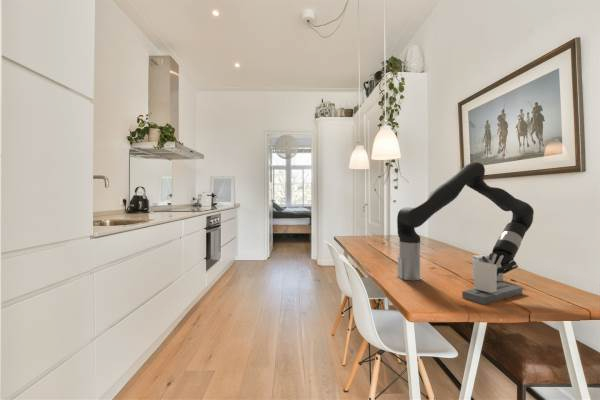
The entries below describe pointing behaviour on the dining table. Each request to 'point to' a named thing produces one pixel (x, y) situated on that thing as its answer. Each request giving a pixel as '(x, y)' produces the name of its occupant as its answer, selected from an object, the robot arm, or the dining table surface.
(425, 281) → the dining table surface
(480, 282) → the cap
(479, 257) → the light bulb box
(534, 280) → the dining table surface
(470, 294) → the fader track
